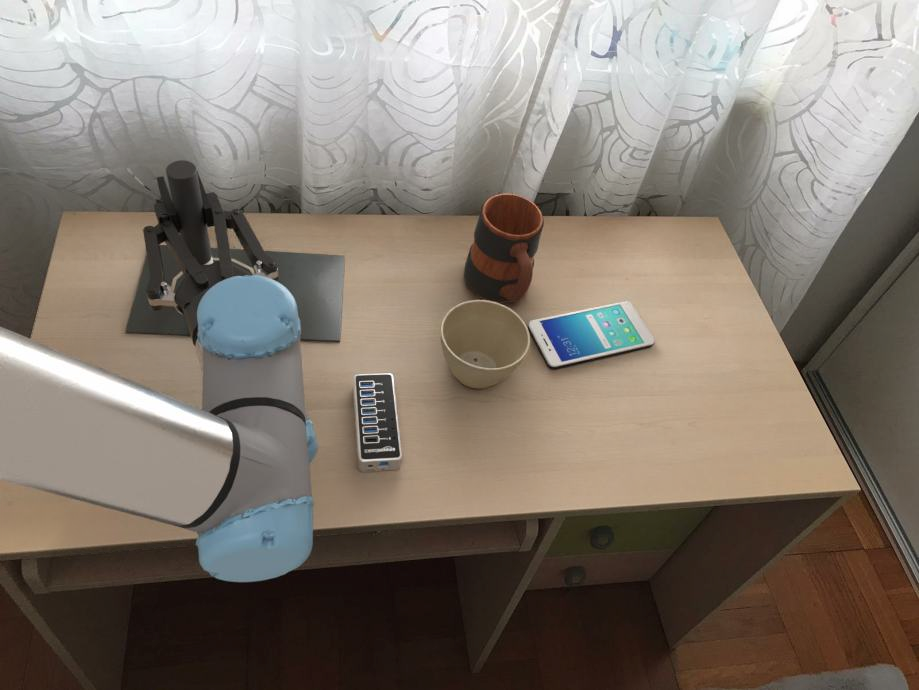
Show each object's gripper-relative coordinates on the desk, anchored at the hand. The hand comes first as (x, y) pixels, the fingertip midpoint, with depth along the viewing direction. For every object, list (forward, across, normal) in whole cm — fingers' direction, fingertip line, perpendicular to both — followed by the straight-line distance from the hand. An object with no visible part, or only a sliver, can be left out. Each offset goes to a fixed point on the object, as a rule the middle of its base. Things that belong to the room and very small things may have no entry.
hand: (178, 183), depth 85 cm
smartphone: (-29, +42, -11) cm, 52 cm away
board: (-8, +4, -11) cm, 14 cm away
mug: (-18, +34, -11) cm, 41 cm away
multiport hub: (-32, +12, -11) cm, 36 cm away
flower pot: (-29, +26, -11) cm, 40 cm away
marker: (-5, 0, -8) cm, 9 cm away
